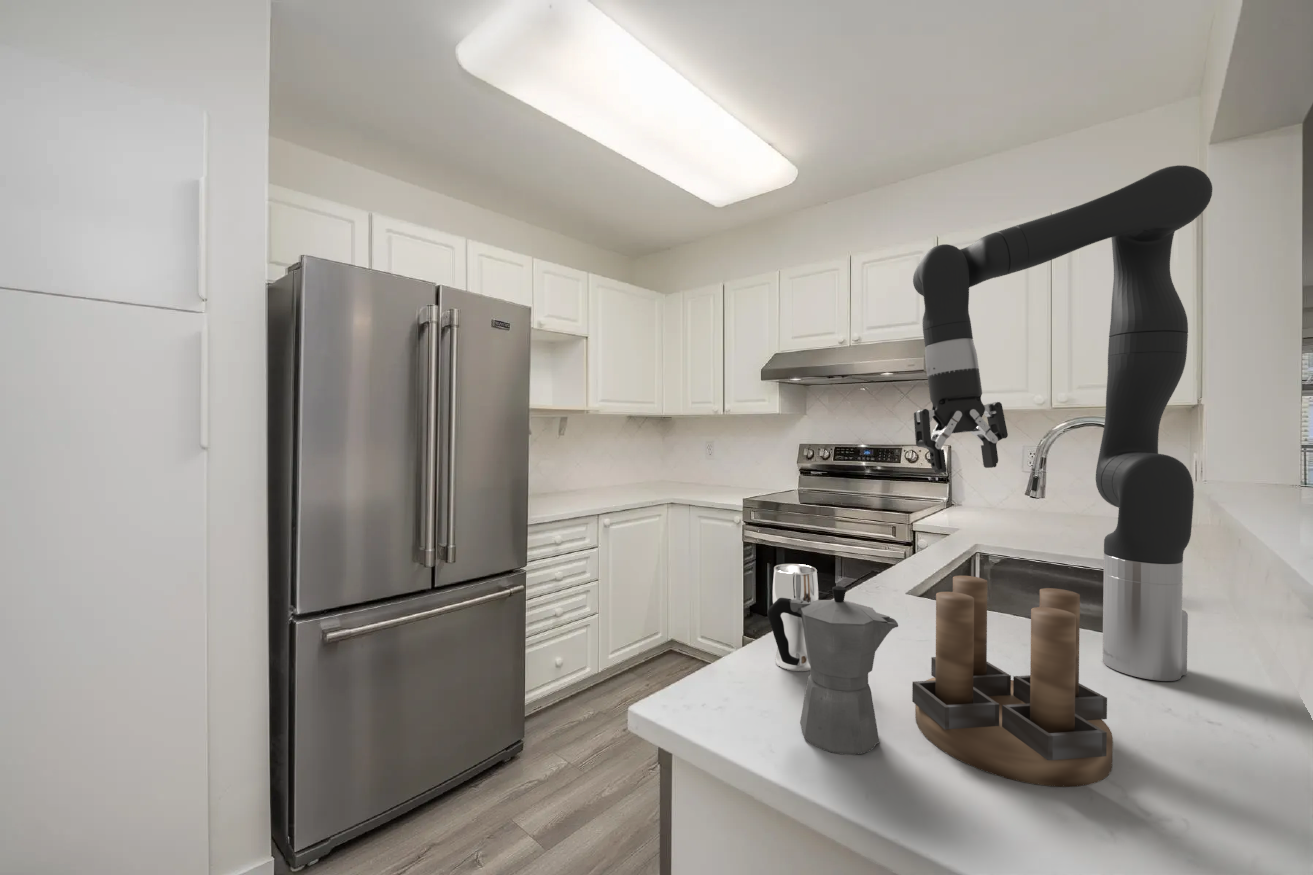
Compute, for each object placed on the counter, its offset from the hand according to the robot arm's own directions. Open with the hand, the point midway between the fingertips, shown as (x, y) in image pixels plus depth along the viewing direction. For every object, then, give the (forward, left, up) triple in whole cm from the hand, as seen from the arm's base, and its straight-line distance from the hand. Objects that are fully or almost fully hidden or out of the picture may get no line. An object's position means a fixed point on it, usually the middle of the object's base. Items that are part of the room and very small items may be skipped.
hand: (965, 470), depth 92 cm
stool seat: (+10, +23, -30) cm, 39 cm away
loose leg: (+10, +16, -27) cm, 33 cm away
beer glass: (+28, 0, -31) cm, 42 cm away
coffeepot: (+31, +20, -31) cm, 48 cm away
